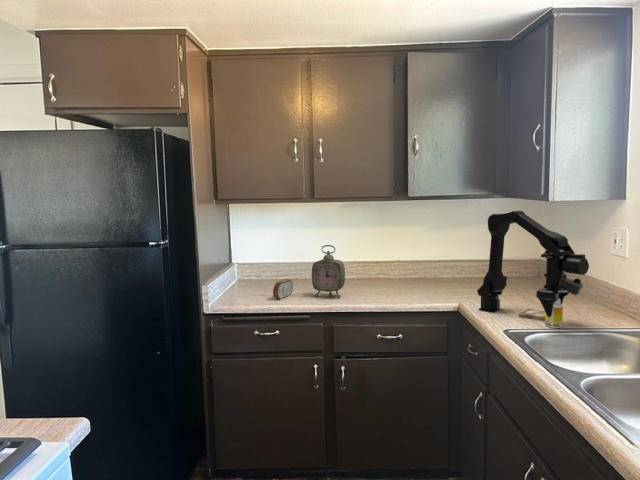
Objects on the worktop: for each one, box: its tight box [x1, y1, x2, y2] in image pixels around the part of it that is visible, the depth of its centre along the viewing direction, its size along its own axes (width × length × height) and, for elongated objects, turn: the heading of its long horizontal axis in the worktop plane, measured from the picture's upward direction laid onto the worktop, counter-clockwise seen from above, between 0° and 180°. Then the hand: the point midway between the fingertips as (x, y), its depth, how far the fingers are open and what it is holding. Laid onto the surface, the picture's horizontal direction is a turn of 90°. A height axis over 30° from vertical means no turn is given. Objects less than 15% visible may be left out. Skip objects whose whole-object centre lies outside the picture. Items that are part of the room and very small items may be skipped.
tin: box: [272, 278, 294, 300], centre depth 217 cm, size 15×3×8 cm, turn 154°
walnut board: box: [518, 308, 545, 322], centre depth 175 cm, size 10×10×1 cm
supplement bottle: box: [544, 298, 564, 329], centre depth 161 cm, size 6×6×10 cm
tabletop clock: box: [311, 244, 346, 299], centre depth 215 cm, size 14×9×25 cm, turn 72°
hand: (553, 314), depth 161 cm, fingers open, 9 cm apart
